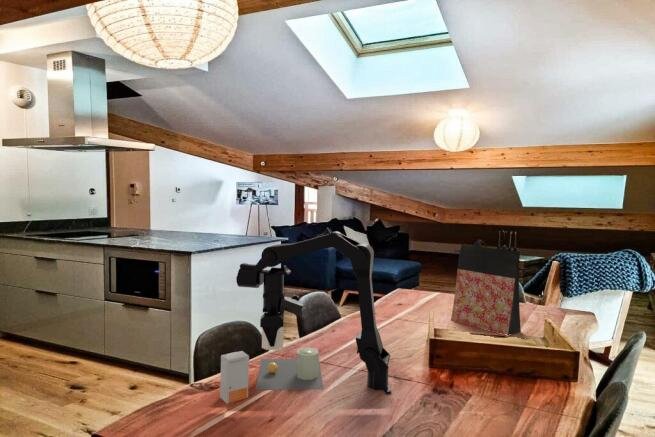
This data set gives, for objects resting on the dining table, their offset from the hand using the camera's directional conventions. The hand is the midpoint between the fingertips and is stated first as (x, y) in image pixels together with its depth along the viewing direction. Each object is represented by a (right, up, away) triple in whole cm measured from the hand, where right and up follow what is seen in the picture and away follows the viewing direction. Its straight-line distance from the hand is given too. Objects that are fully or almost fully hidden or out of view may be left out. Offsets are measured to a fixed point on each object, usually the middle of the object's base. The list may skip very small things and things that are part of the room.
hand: (272, 342), depth 130 cm
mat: (+5, -10, +1) cm, 11 cm away
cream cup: (0, -1, 0) cm, 1 cm away
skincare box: (-8, -11, -15) cm, 20 cm away
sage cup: (+10, -9, -1) cm, 14 cm away
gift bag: (+80, -8, +57) cm, 98 cm away
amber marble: (0, -7, 0) cm, 7 cm away
